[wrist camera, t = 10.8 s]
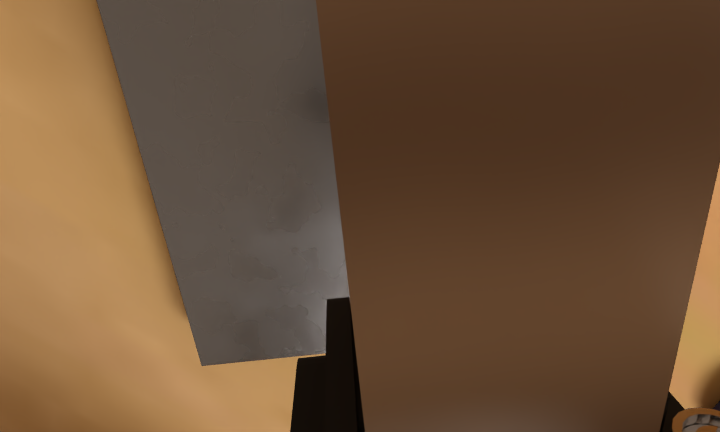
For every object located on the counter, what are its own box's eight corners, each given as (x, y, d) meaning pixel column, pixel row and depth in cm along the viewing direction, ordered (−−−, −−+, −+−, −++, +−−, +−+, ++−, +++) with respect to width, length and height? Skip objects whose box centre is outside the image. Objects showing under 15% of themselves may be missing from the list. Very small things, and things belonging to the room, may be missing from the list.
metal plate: (373, 321, 30) (376, 347, 27) (211, 337, 29) (201, 366, 27) (334, -97, 21) (334, -109, 18) (101, -75, 20) (72, -84, 18)
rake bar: (496, 554, 17) (574, 812, 12) (385, 567, 17) (410, 832, 12) (530, -241, 8) (919, -731, 3) (300, -221, 8) (237, -682, 3)
